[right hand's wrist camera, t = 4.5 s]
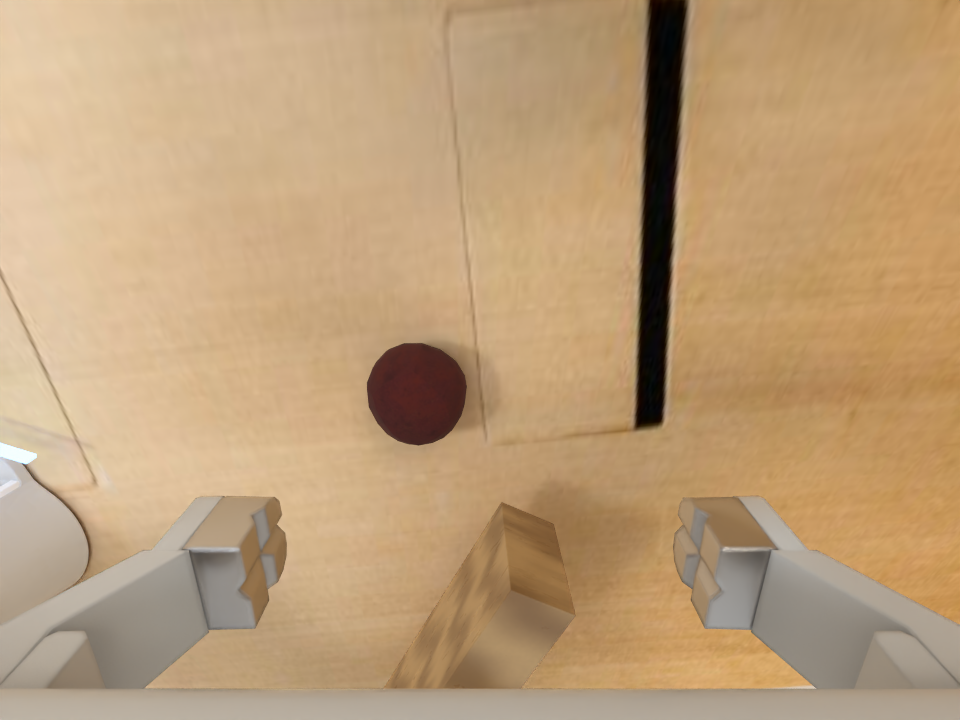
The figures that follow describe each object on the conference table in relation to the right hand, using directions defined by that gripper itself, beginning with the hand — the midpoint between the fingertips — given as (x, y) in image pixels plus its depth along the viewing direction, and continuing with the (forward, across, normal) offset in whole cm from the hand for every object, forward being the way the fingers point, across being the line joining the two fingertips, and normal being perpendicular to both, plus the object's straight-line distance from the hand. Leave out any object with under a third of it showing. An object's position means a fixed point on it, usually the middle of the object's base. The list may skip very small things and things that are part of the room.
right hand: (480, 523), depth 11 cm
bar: (+24, -2, -29) cm, 38 cm away
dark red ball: (+31, -5, -9) cm, 33 cm away
